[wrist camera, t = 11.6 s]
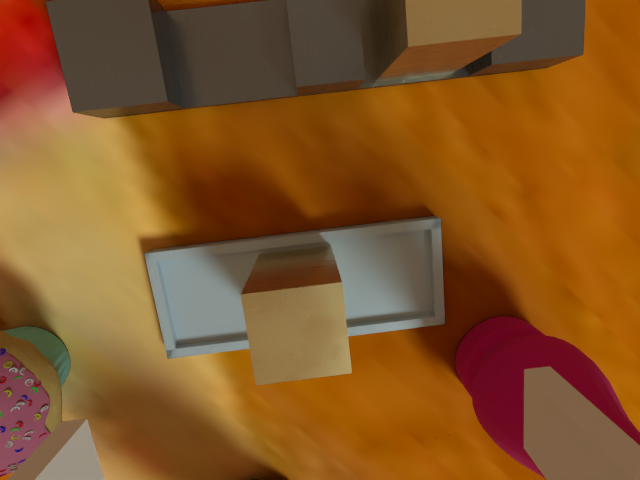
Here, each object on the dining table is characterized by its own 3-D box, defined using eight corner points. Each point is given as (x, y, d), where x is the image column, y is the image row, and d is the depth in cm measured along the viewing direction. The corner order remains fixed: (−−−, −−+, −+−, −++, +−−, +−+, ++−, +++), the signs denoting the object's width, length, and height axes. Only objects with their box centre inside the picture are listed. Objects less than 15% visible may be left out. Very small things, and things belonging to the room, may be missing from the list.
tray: (434, 215, 24) (440, 218, 23) (439, 317, 25) (445, 324, 24) (150, 249, 23) (144, 253, 22) (173, 350, 25) (167, 358, 24)
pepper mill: (435, 328, 25) (870, 895, 6) (538, 294, 25) (1343, 766, 6) (461, 415, 27) (873, 1090, 7) (557, 384, 27) (1241, 994, 7)
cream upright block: (449, -15, 21) (522, -101, 14) (452, 72, 22) (521, 34, 15) (368, -6, 20) (400, -88, 14) (374, 81, 21) (407, 46, 15)
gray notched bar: (548, -28, 21) (587, -58, 18) (546, 68, 22) (583, 54, 19) (82, 23, 21) (45, 1, 18) (104, 118, 22) (72, 112, 19)
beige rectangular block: (338, 312, 24) (351, 373, 17) (269, 320, 24) (255, 385, 17) (331, 245, 23) (342, 282, 16) (259, 254, 23) (240, 294, 16)
